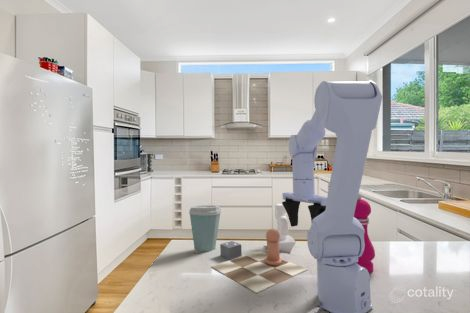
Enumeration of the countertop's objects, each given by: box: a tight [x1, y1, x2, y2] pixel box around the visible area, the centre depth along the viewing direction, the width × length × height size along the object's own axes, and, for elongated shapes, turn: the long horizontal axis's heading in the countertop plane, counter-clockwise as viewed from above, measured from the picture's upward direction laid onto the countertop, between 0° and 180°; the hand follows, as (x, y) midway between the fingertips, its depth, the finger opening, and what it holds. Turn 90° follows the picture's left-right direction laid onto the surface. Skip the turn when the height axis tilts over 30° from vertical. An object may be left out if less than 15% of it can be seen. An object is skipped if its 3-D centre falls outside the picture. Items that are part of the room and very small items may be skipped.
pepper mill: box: [354, 193, 376, 274], centre depth 69 cm, size 7×7×20 cm
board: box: [210, 250, 309, 294], centre depth 68 cm, size 18×18×1 cm
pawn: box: [265, 228, 283, 266], centre depth 71 cm, size 4×4×9 cm
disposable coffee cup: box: [188, 204, 222, 254], centre depth 85 cm, size 11×11×15 cm
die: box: [219, 240, 243, 261], centre depth 77 cm, size 4×4×5 cm
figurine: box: [274, 203, 297, 253], centre depth 84 cm, size 7×9×15 cm
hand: (304, 228), depth 71 cm, fingers open, 7 cm apart
